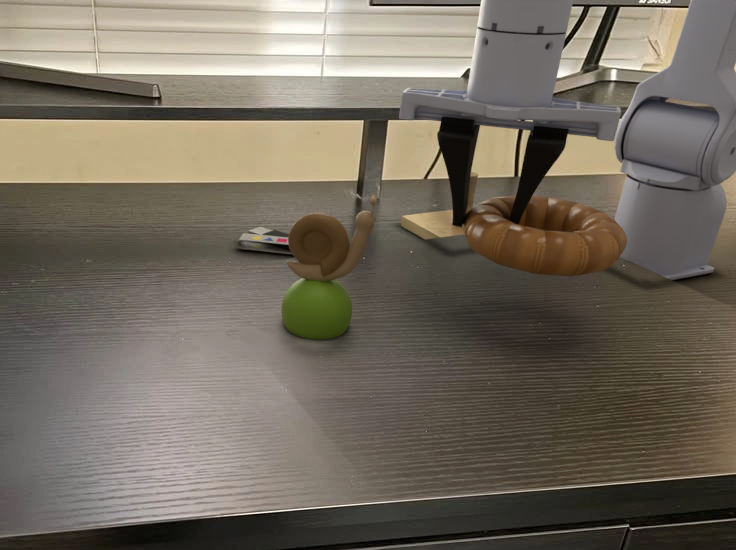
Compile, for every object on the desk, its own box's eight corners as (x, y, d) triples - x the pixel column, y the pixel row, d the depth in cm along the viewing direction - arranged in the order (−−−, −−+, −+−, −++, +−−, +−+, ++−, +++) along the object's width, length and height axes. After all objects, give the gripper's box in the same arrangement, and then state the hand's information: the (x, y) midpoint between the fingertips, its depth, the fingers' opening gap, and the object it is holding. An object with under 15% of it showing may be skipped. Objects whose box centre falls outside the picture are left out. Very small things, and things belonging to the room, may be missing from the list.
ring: (542, 220, 62) (550, 185, 60) (653, 269, 53) (665, 229, 52) (431, 236, 58) (437, 198, 56) (531, 291, 49) (541, 249, 48)
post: (465, 217, 86) (475, 159, 83) (518, 243, 79) (531, 181, 76) (400, 225, 83) (408, 166, 80) (449, 253, 76) (459, 189, 73)
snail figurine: (358, 363, 56) (375, 208, 50) (274, 353, 57) (281, 199, 51) (364, 331, 60) (380, 185, 54) (286, 322, 61) (293, 178, 55)
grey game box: (326, 254, 74) (326, 244, 74) (293, 268, 71) (294, 258, 70) (261, 233, 79) (261, 224, 79) (227, 245, 76) (227, 236, 75)
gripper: (400, 28, 48) (378, 227, 55) (643, 44, 44) (586, 259, 51) (420, 19, 54) (397, 201, 61) (637, 33, 50) (586, 227, 56)
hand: (484, 225), depth 56 cm, fingers closed on ring, 3 cm apart
